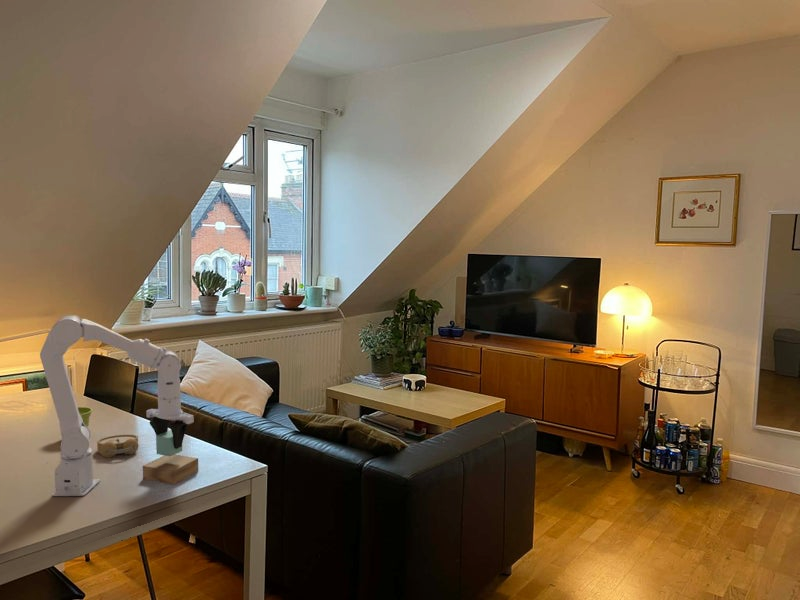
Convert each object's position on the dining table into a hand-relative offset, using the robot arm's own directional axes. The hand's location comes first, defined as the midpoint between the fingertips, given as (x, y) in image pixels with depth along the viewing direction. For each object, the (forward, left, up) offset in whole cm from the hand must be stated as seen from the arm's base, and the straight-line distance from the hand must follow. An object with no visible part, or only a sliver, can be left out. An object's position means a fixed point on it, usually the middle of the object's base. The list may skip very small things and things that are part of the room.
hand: (170, 446), depth 166 cm
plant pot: (+32, +39, -8) cm, 51 cm away
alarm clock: (+19, +21, -8) cm, 29 cm away
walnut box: (0, 0, -8) cm, 8 cm away
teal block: (0, 0, -2) cm, 2 cm away
